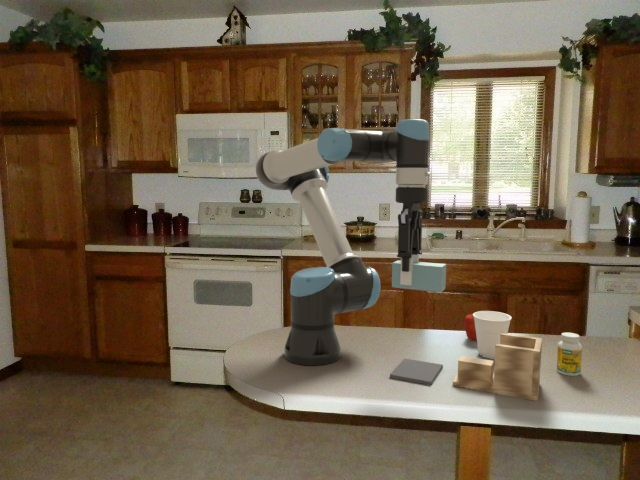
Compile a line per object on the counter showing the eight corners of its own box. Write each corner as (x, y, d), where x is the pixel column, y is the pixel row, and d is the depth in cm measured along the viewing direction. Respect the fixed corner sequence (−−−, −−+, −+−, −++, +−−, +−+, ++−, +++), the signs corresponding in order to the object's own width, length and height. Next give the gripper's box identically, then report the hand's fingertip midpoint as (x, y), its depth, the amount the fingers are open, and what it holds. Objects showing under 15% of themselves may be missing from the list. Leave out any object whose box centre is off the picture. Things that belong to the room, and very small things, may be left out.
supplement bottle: (578, 369, 125) (580, 332, 124) (582, 377, 120) (585, 339, 119) (554, 367, 127) (557, 330, 126) (558, 375, 122) (560, 336, 121)
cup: (512, 363, 130) (514, 321, 128) (473, 360, 132) (474, 319, 130) (506, 350, 139) (508, 311, 138) (469, 347, 141) (471, 309, 140)
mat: (389, 377, 120) (389, 374, 120) (404, 361, 131) (404, 358, 131) (431, 385, 116) (431, 381, 116) (442, 367, 126) (442, 364, 126)
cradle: (452, 385, 115) (454, 339, 114) (460, 370, 124) (462, 327, 123) (537, 400, 107) (539, 351, 106) (539, 383, 116) (542, 338, 115)
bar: (391, 287, 121) (392, 262, 121) (397, 283, 125) (397, 260, 125) (441, 292, 116) (442, 266, 115) (445, 288, 120) (446, 264, 119)
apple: (489, 339, 149) (490, 314, 148) (480, 344, 144) (481, 319, 143) (470, 334, 153) (470, 311, 152) (460, 339, 149) (461, 314, 148)
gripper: (417, 187, 109) (414, 291, 112) (436, 185, 125) (433, 277, 128) (384, 186, 112) (382, 288, 115) (407, 185, 128) (404, 274, 131)
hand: (409, 282), depth 122 cm, fingers closed on bar, 4 cm apart
